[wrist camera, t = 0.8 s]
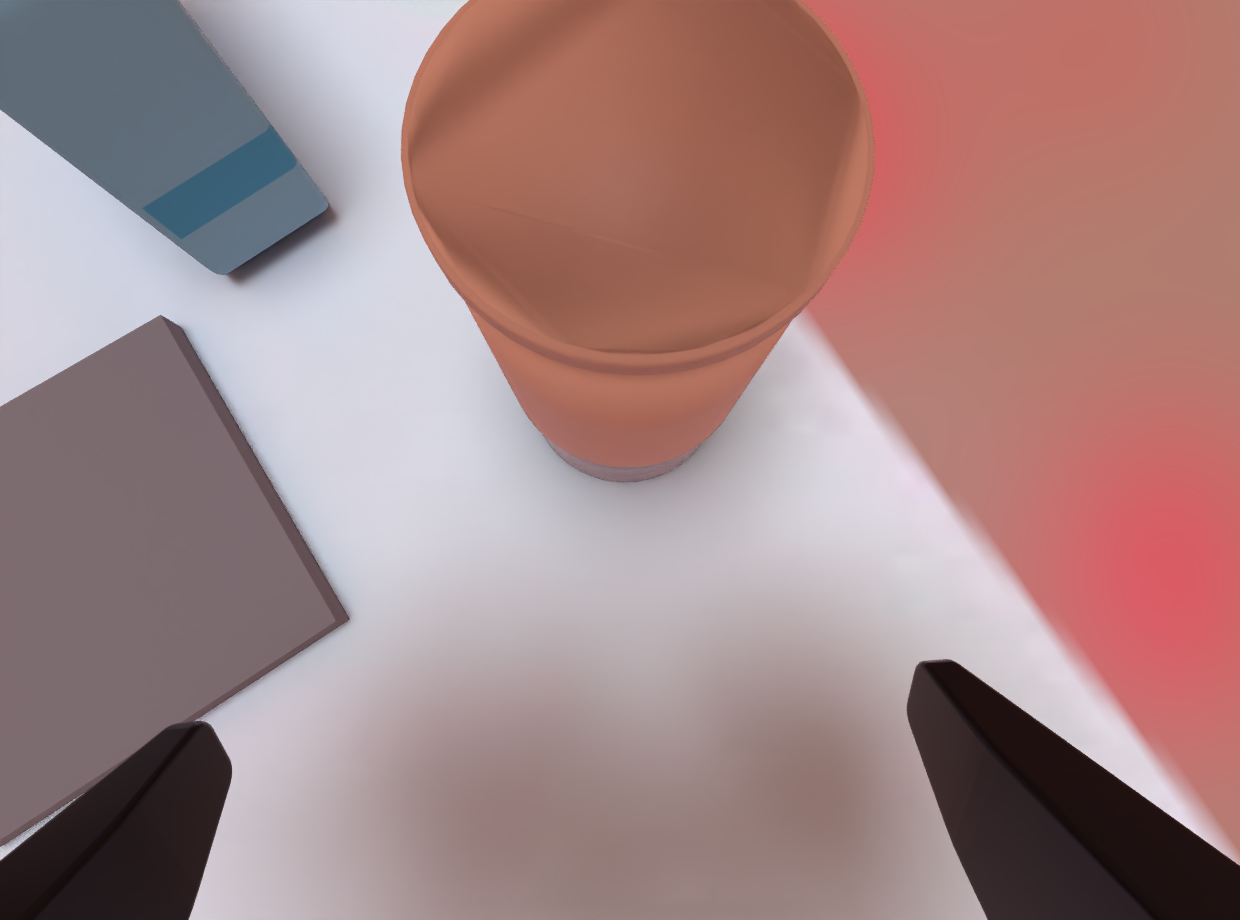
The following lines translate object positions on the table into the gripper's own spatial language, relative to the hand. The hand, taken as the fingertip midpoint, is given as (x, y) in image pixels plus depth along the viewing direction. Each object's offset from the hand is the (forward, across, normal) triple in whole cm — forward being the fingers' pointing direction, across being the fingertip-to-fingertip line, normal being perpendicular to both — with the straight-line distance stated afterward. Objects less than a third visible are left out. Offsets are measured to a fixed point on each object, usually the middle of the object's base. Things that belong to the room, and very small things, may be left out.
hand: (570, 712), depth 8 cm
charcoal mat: (+12, +16, +6) cm, 21 cm away
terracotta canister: (+12, -2, 0) cm, 12 cm away
